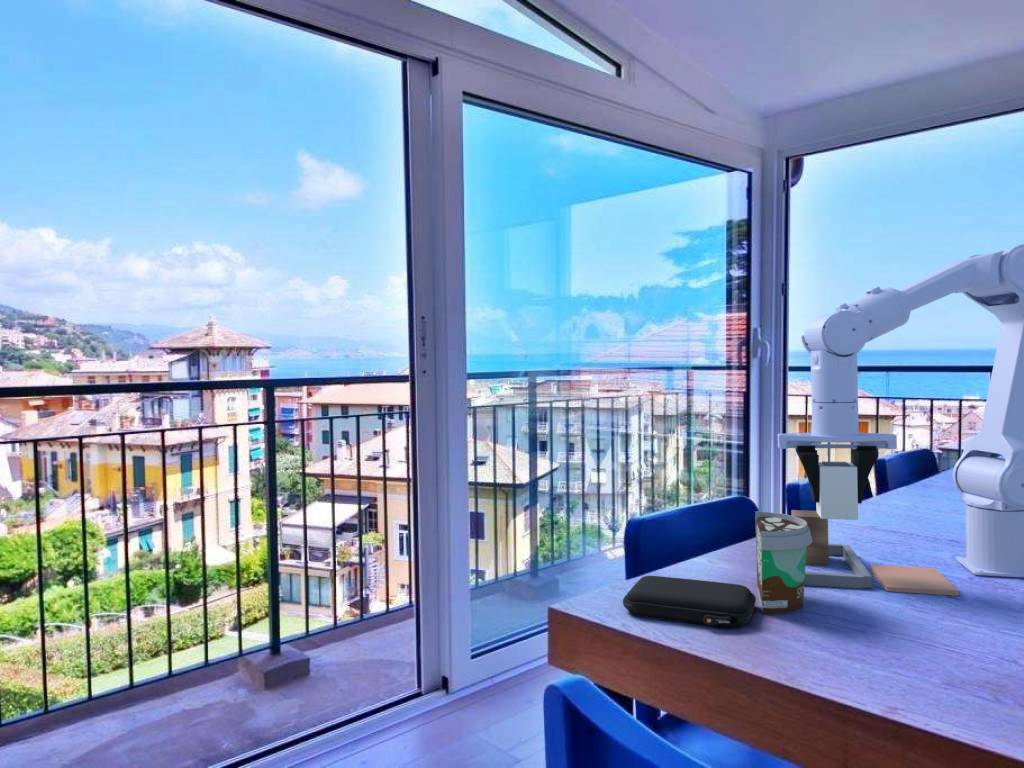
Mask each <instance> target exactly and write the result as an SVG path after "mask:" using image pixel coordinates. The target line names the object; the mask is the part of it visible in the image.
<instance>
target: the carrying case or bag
mask: <svg viewBox="0 0 1024 768" xmlns="http://www.w3.org/2000/svg"><path fill="white" fill-rule="evenodd" d="M756 599H757V598H756V595H755V594H754V593H753V592H752V591H751V589H749V588H748V587H747V586H746V585H743V584H742V585H741V584H738V583H729V582H719V581H711V580H702V579H693V578H692V579H691V578H682V577H681V578H680V577H671V576H659V575H644V576H642V577H640V579H639V580H638V581H637V582H636V583H635V584H634V585H633V586H632V587H631V589H630V590H629V591H628V592H627V594H625V595H624V597H623V599H622V604H623V606H624V608H625V609H626V610H627V611H628V613H629V614H630V615H632V616H636V617H643V618H648V619H649V618H650V617H651V618H652V619H657V618H659V620H666V621H674V622H681V623H689V624H695V625H696V624H698V625H705V626H714V627H719V628H720V627H722V628H730V629H731V628H733V629H734V628H735V629H739V628H742V627H744V626H745V625H746V624H747V622H749V621H750V620H751V619H752V617H753V613H754V609H755V605H756ZM651 618H650V619H651Z"/></svg>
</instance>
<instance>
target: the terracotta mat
mask: <svg viewBox="0 0 1024 768" xmlns="http://www.w3.org/2000/svg"><path fill="white" fill-rule="evenodd" d="M869 569H870V571H871V572H872V573H873V575H874V576H875V578H876V579H877V580H878V582H879V583H880V584H881V586H882V587H883V588H884V589H885V591H886V592H895V593H908V594H909V593H910V594H924V595H925V594H926V595H927V594H928V595H941V596H957V597H959V596H960V595H959V594H960V592H959V590H958V589H957V588H956V587H955V586H954V585H953V584H952V583H951V582H950V581H949V580H948V579H947V578H946V577H945V576H943V574H942V573H940V572H939V570H937V569H936V568H935V567H921V566H903V565H885V564H869Z"/></svg>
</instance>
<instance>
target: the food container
mask: <svg viewBox="0 0 1024 768" xmlns="http://www.w3.org/2000/svg"><path fill="white" fill-rule="evenodd" d="M754 519H755V523H754V525H755V526H754V527H755V550H756V586H757V587H756V590H757V593H758V594H757V595H758V600H759V604H760V609H761V614H762V615H787V614H790V613H791V614H792V613H796V612H798V611H800V610H802V608H803V606H804V596H805V595H804V594H805V593H804V592H805V585H804V581H805V572H806V564H805V563H806V546H808V545H810V544H811V543H812V537H811V533H810V529H809V527H808V526H807V522H806V521H805V520H803V519H801V518H798V517H795V516H791V515H790V514H785V513H780V512H779V513H778V512H771V511H770V512H769V511H755V518H754Z"/></svg>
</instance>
